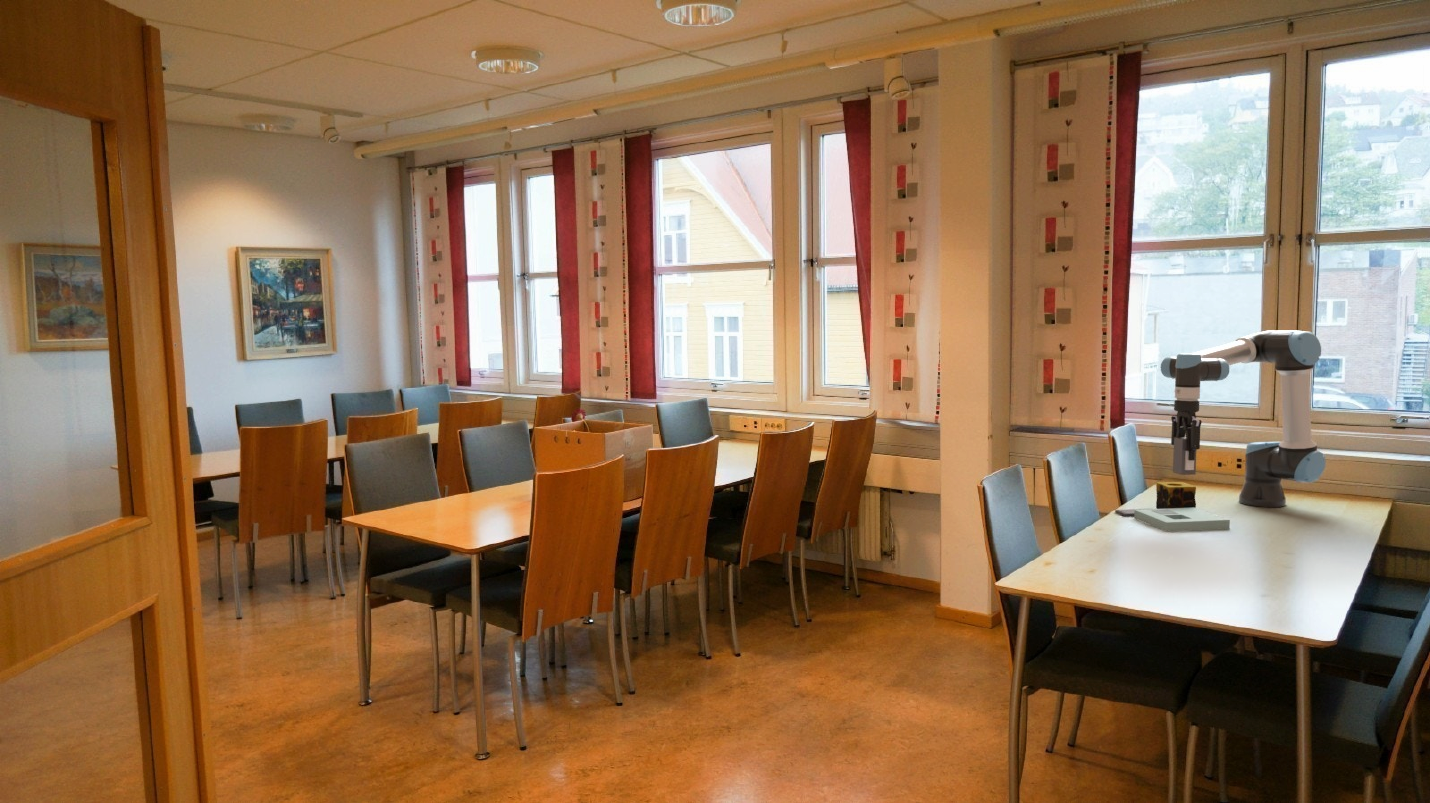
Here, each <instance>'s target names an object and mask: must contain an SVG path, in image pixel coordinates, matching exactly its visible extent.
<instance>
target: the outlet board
mask: <svg viewBox="0 0 1430 803" xmlns="http://www.w3.org/2000/svg"><path fill="white" fill-rule="evenodd" d="M1143 509H1144V510H1135V516H1134V519H1136V520H1137V521H1139V522H1142V523H1144V524H1145V523H1146V524H1147V525H1150V526H1153V527H1154V528H1157V529H1159V530H1162V531H1164V532H1186V531H1206V530H1209V531H1210V530H1227V529H1228V530H1230V528H1231V526H1230V525H1231V519H1229V518H1225V517H1224V516H1220V515H1217V514H1215V513H1211V512H1208V511H1206V510H1202V509H1200V508H1198V507H1196V508H1194V507H1193V508H1168V509H1157V508H1143Z"/></svg>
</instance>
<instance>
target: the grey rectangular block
mask: <svg viewBox="0 0 1430 803" xmlns="http://www.w3.org/2000/svg"><path fill="white" fill-rule="evenodd" d="M1185 449H1187V442H1186V436H1185V437H1174V445H1173V456H1172V457H1173V458H1172V473H1174V474H1177V475H1181V476H1184V475H1185V476H1187V475H1188V476H1190V475H1192V476H1193V475H1197V474H1196V469H1197V450H1196V451H1195V459H1194V470H1185V452H1186V450H1185Z"/></svg>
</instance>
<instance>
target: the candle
mask: <svg viewBox="0 0 1430 803" xmlns="http://www.w3.org/2000/svg"><path fill="white" fill-rule="evenodd" d="M1155 490H1156V503H1155V505H1156V506H1155V507H1156V508H1155V509H1168V508H1193V507H1194V508H1197V502H1196V493H1197V492H1196V491H1197V487H1196V486H1195V485H1193V484H1189V483H1187V482H1184V481H1165V482H1163V481H1162V482H1156V488H1155Z"/></svg>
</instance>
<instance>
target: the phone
mask: <svg viewBox="0 0 1430 803" xmlns="http://www.w3.org/2000/svg"><path fill="white" fill-rule="evenodd" d="M1144 509H1145V508H1133V509H1130V508H1129V509H1115V511H1114V513H1115V512H1116V513H1115V514H1117V515H1120V516H1122V517H1124V518H1129V517H1130V518H1133V517H1134V516H1135V510H1144Z"/></svg>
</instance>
